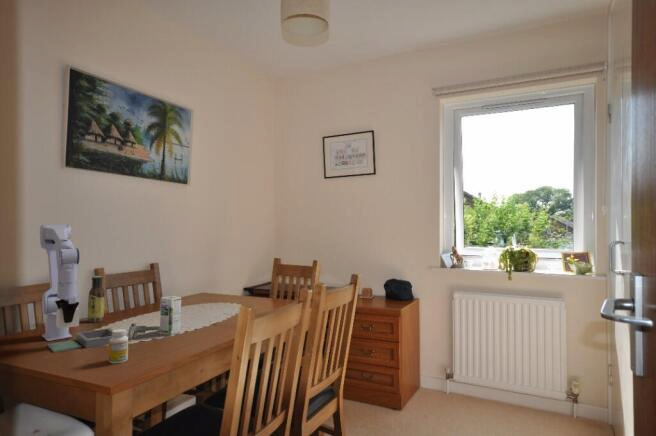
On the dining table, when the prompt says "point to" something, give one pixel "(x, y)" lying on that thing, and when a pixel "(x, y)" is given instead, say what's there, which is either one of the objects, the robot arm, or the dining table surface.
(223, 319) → the dining table surface
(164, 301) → the syrup box
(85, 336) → the grey square frame
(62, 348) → the rubber mat
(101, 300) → the sauce bottle
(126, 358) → the supplement bottle
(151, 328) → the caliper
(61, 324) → the block
